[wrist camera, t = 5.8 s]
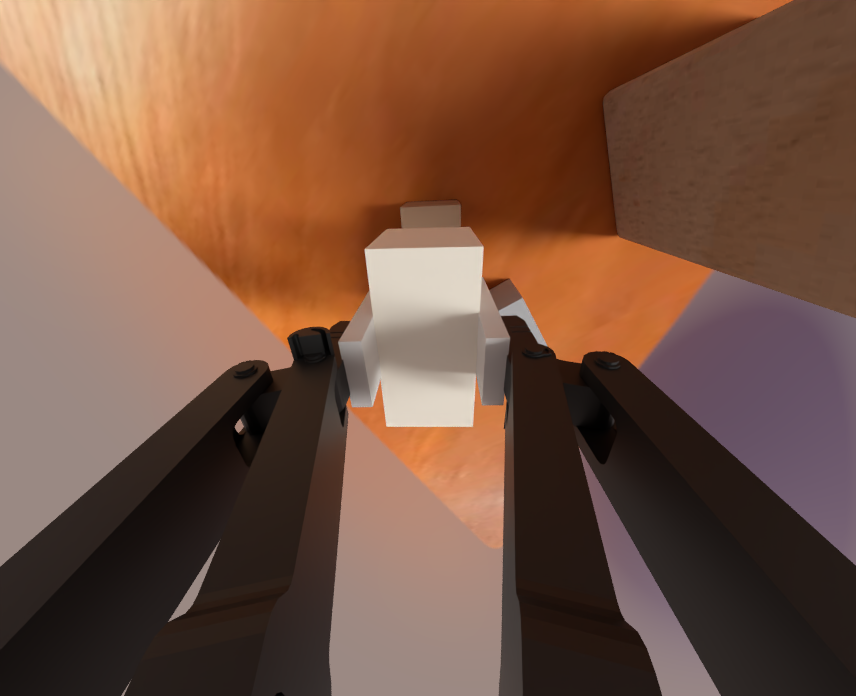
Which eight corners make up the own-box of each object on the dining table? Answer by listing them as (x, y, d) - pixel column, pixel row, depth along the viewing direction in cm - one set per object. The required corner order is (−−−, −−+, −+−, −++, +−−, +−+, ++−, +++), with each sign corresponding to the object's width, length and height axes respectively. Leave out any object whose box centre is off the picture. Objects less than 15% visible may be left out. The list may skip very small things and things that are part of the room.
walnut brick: (406, 201, 24) (399, 207, 20) (456, 199, 24) (461, 204, 20) (413, 296, 28) (409, 318, 24) (456, 295, 28) (460, 317, 24)
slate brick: (469, 300, 28) (475, 323, 24) (509, 278, 27) (522, 297, 23) (507, 362, 31) (517, 392, 27) (543, 344, 30) (561, 372, 26)
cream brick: (386, 228, 15) (364, 248, 10) (469, 226, 14) (483, 246, 10) (398, 368, 18) (386, 426, 14) (464, 367, 18) (472, 426, 14)
